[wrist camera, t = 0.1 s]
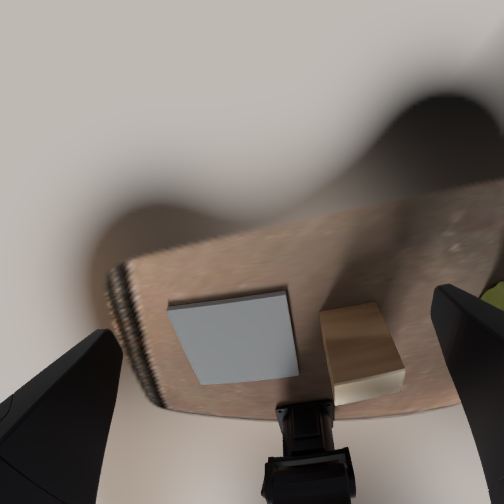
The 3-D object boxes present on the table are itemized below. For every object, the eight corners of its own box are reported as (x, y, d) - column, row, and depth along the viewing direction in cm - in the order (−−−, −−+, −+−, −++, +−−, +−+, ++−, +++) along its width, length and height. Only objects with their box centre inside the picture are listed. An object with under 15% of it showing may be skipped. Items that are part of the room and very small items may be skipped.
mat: (298, 371, 29) (299, 375, 29) (202, 380, 30) (201, 384, 30) (285, 290, 25) (285, 294, 24) (167, 306, 26) (166, 310, 25)
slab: (374, 322, 26) (400, 391, 19) (321, 332, 27) (334, 405, 20) (375, 301, 25) (405, 370, 18) (319, 311, 26) (334, 386, 19)
